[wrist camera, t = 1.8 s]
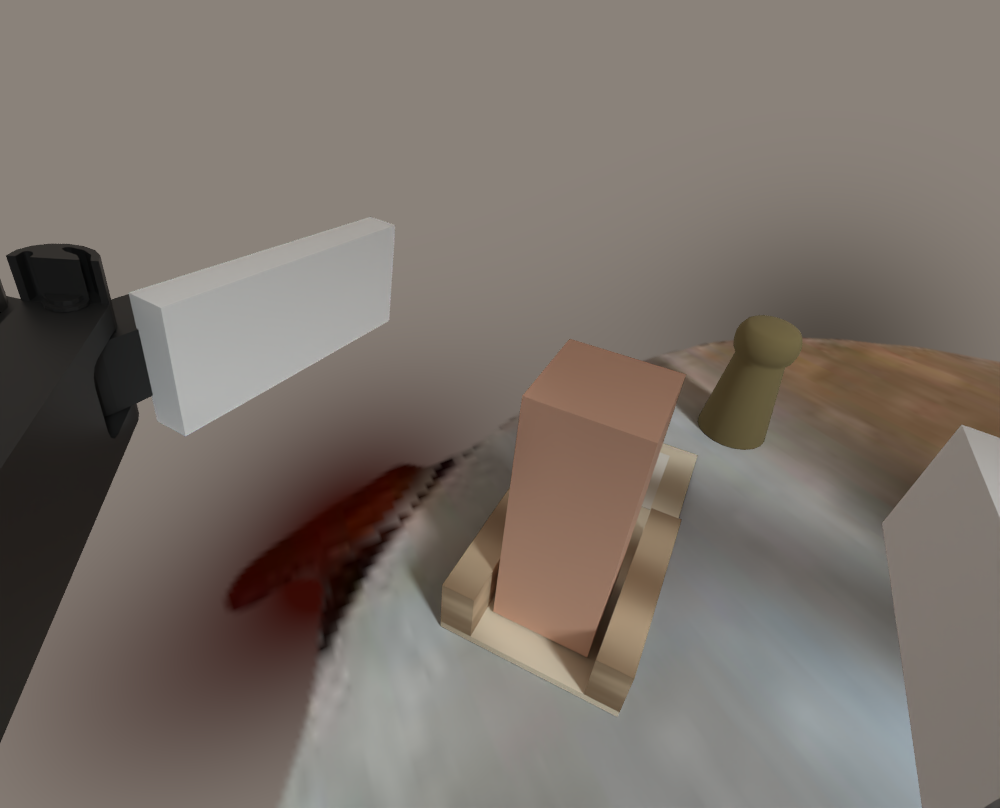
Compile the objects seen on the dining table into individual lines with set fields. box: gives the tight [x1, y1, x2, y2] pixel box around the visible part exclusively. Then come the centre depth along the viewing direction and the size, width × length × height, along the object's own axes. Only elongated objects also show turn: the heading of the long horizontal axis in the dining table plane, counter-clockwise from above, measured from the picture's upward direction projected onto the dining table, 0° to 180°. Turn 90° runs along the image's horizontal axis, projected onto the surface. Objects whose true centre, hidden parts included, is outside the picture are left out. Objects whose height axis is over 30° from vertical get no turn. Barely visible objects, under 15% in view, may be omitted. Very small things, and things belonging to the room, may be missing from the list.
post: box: [493, 339, 686, 657], centre depth 30 cm, size 6×6×16 cm
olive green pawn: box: [698, 315, 802, 450], centre depth 49 cm, size 6×6×11 cm
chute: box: [441, 443, 698, 717], centre depth 40 cm, size 24×11×4 cm, turn 154°
